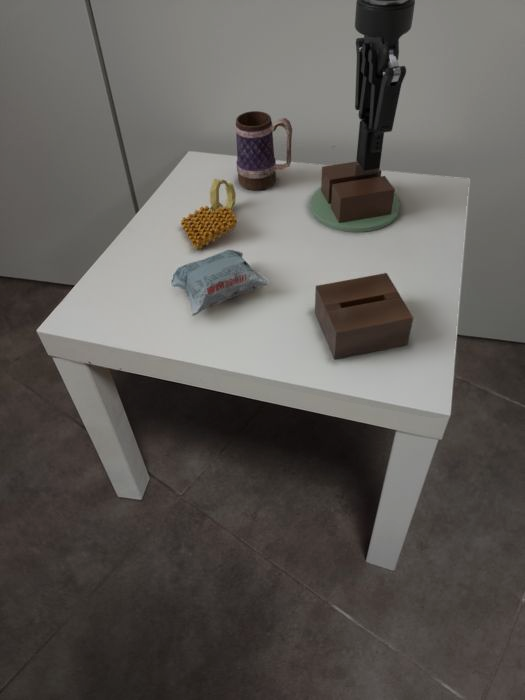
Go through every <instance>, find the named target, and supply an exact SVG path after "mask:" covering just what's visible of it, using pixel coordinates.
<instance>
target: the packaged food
mask: <svg viewBox="0 0 525 700" xmlns="http://www.w3.org/2000/svg"><path fill="white" fill-rule="evenodd" d="M243 256H244V254H243V252H241V251H238V250H234V249H226V250H224V251H221V252H219V253H217V254H214V255H211V256H209V257H205V258H204V259H201V260H196V261H191V262H189V263H186V264H184V265H182V266H179V267H177V269H176V270H175V272H174V273H173V275H172V279H171V286H172V287H174V288H175V287H178V288H180V289H181V290H183V291H184V292H186V293H188V297H189V301H190V311H191V316H193V317H194V316H196V315H198V314H200V313H202V312H203V311H206V310H209V309H211V308H213V307H215V306H217V305H219V304H221V303H223V302H225V301H226V300H229V299H234V298H236V297H239V296H241V295H243V294H246V293H249V292H252V291H256V290H258V289H259V288H262V287H264V286H267V285H269V283H270V279H268V278H267V277H265V276H264V275H262V274H261V273H259V271H258V270H256V269H253V268H252V267H251V266H250V264H249V263H248V262H247V261H246V260H245V259H244V258H243Z"/></svg>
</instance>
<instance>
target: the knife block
mask: <svg viewBox="0 0 525 700" xmlns="http://www.w3.org/2000/svg"><path fill="white" fill-rule="evenodd" d="M314 290H315V294H314V315H315V317H316V320H317V322H318V324H319V327H320V329H321V332H322V333H323V337H324V339H325V341H326V344H327V345H328V348H329V351H330V353H331V355H332V357H333V359H334V360H337V359H343V358H348V357H349V358H350V357H353V356H359V355H364V354H368V353H374V352H378V351H384V350H389V349H393V348H394V349H395V348H397V347H403V346H407V345H408V343H409V340H410V334H411V330H412V326H413V322H414V316H413V314H412V313H411V311H410V310H409V308H408V306H407V304H406V303H405V301H404V299H403V298H402V296H401V295H400V293H399V291H398V289H397V288H396V286H395V284H394V283H393V281H392V279H391V278H390V276H389V274H388V273H387V272H384V273H378V274H373V275H368V276H361V277H357V278H351V279H346V280H339V281H335V282H330V283H324V284H317V285H315V289H314Z"/></svg>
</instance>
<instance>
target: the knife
mask: <svg viewBox="0 0 525 700" xmlns="http://www.w3.org/2000/svg"><path fill="white" fill-rule="evenodd" d="M365 127H369V119H364V120H362V126H361V137H360V148H359V158H358V162H359V164H360V165H356V166H355V177H354V181H356V180H362V179H368V178H374V177H378V172H379V169H380V168H378V169H372V170H366V171H363V169H362V162H363V153H364V143H365V131H364V128H365Z"/></svg>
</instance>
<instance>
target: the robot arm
mask: <svg viewBox="0 0 525 700" xmlns="http://www.w3.org/2000/svg"><path fill="white" fill-rule="evenodd" d="M355 3H356V5H355V17H354V29H355V30H356V31H357V33H358V34H360V35H363V36H362V37H358V38H356V40H355V51H356V67H355V68H356V69H355V93H354V94H355V97H354V109H355V110H356V111H358V113H357V114H358V118H359V120H360V121H359V125H358V127H359V128H358V136H357V137H358V138H357V146H356V147H357V148H356V149H357V150H356V157H355V158H356V161H357V162H358V158H359V148H360V137H361V126H362V120H364V119H369V127H365V128H364V131H365V143H364V153H363V162H362V169H363V171H366V170H372V169H378V168H379V169H381V168H380V167H381V160H382V152H383V146H384V145H383V144H384V138H385V137H384V136H385V133H390V132H392V131H393V129H394V123H395V117H396V113H397V108H398V103H399V98H400V93H401V88H402V84H403V81H404V80H405V77H406V74H407V68H406V65H399V62H398V60H399V55H400V41H399V40H400V39H401V37H402V36H403V35H405V34H408V33H409V31H410V30H411V29H412V26H413V19H414V12H415V5H416V0H356V2H355ZM356 161H355V162H356Z"/></svg>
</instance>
